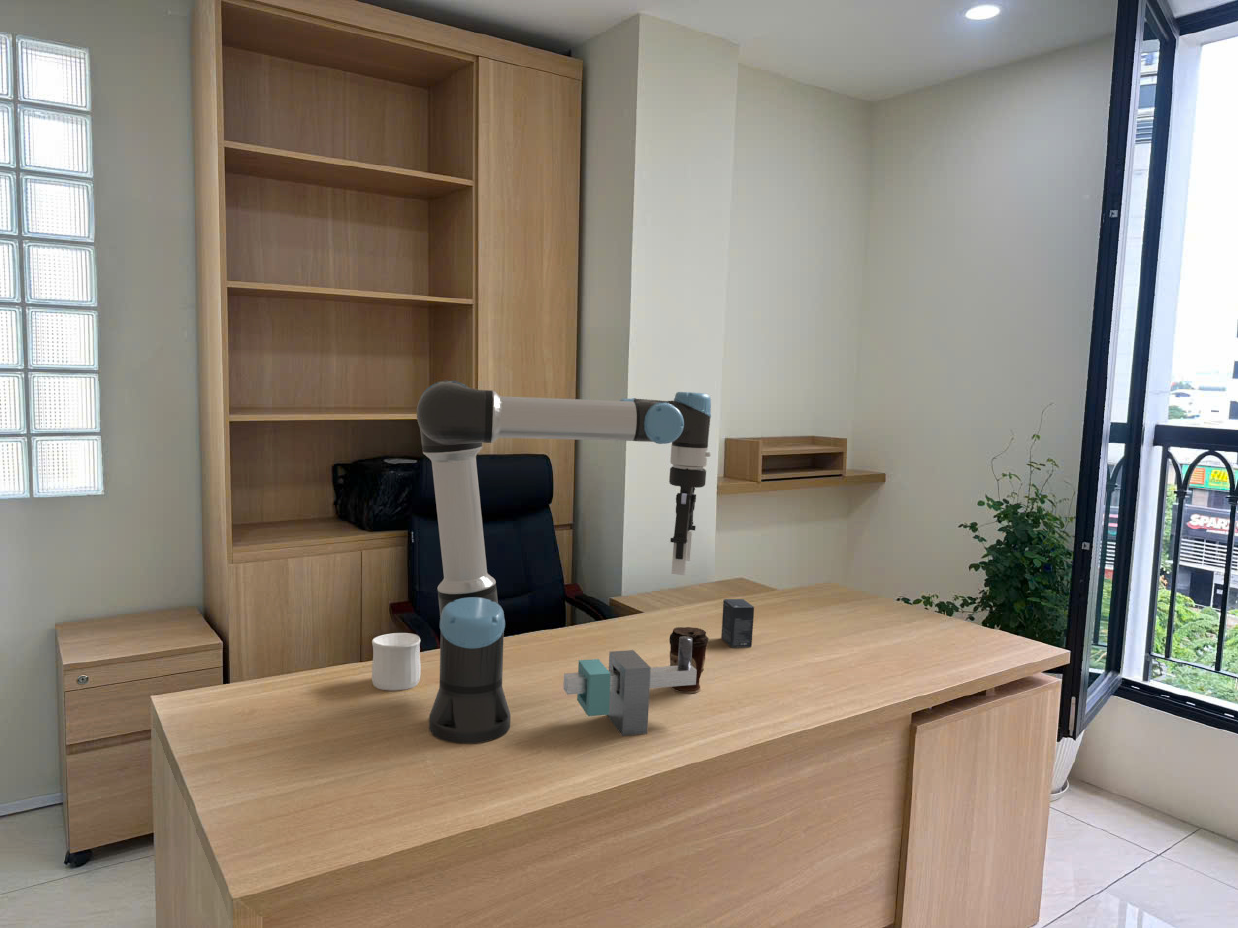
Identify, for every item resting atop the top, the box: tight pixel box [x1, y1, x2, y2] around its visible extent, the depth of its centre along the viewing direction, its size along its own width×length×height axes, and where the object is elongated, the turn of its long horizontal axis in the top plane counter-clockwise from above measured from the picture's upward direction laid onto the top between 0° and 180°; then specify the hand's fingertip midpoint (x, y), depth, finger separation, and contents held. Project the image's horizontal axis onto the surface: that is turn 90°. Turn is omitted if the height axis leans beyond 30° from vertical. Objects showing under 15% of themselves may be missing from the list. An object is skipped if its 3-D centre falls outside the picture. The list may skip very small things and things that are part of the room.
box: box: [720, 598, 755, 648], centre depth 218 cm, size 8×6×11 cm
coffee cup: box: [668, 626, 709, 694], centre depth 185 cm, size 9×8×13 cm
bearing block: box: [606, 649, 652, 737], centre depth 165 cm, size 5×10×13 cm, turn 18°
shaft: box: [563, 636, 697, 696], centre depth 165 cm, size 26×3×9 cm, turn 108°
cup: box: [371, 632, 422, 692], centre depth 181 cm, size 10×10×10 cm
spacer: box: [576, 658, 611, 717], centre depth 163 cm, size 4×8×8 cm, turn 18°
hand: (681, 567), depth 180 cm, fingers open, 13 cm apart
